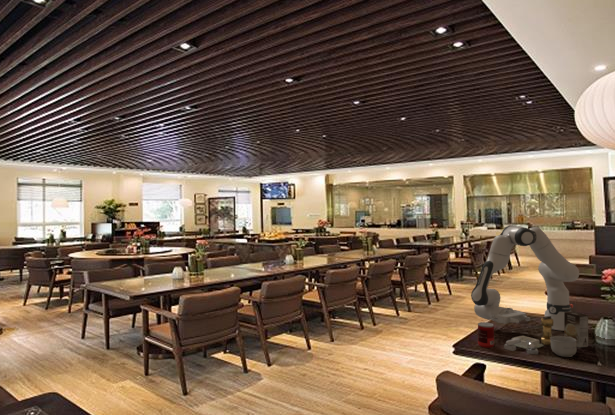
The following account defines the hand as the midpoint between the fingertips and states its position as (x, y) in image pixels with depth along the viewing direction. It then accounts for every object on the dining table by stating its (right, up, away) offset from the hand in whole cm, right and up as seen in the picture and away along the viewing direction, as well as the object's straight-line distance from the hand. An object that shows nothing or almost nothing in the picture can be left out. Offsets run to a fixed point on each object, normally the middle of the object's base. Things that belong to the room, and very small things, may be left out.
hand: (524, 320), depth 230 cm
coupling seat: (-9, -9, -14) cm, 19 cm away
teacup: (+6, -10, -26) cm, 29 cm away
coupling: (+7, -10, -10) cm, 16 cm away
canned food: (-26, -10, -12) cm, 30 cm away
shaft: (-8, -9, -21) cm, 25 cm away
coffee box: (+21, -10, -11) cm, 26 cm away
